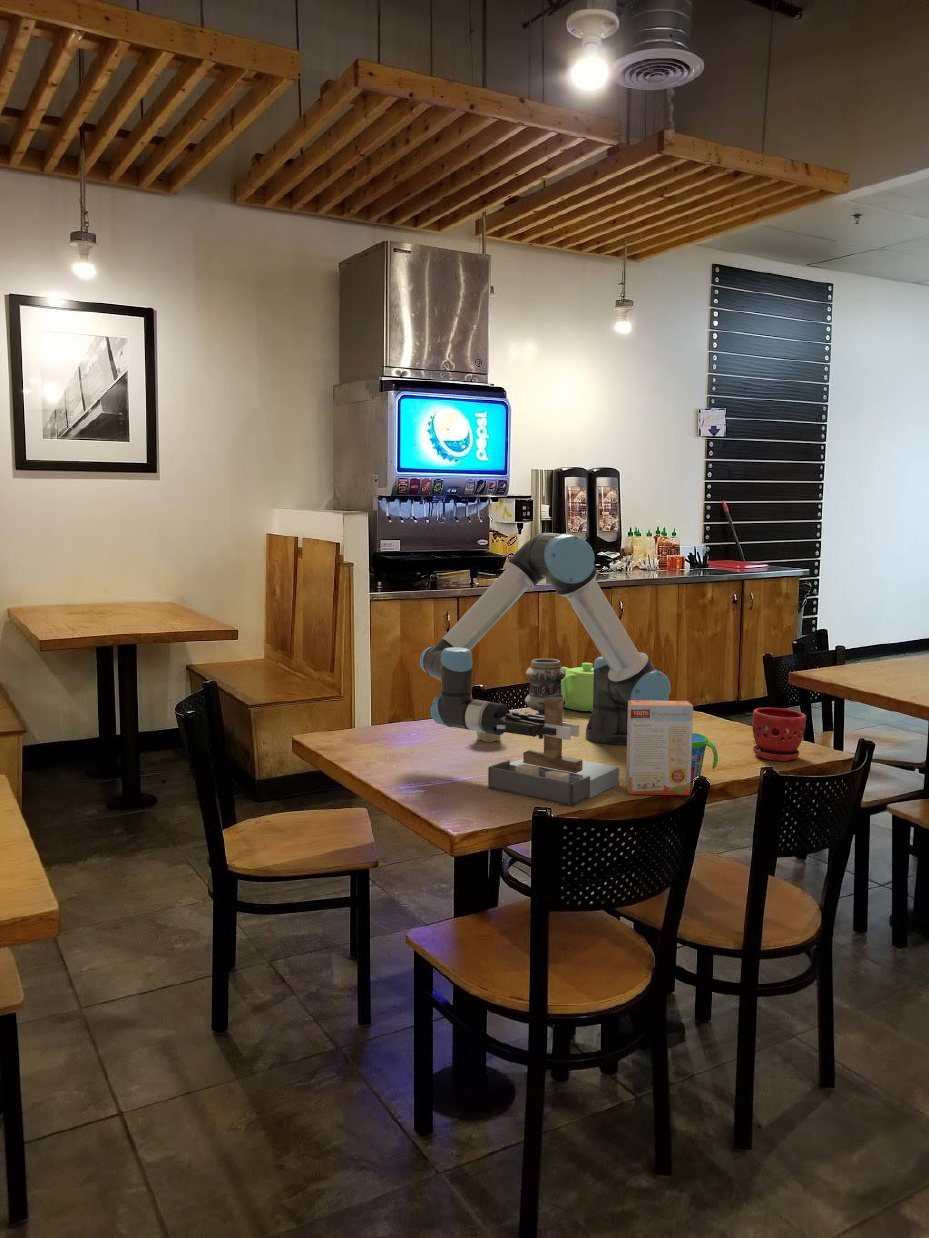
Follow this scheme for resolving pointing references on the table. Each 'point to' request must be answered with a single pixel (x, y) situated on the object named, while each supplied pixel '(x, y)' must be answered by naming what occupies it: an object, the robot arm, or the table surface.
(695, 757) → the snack cup
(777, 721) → the plant pot
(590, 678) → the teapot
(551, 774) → the tile
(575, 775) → the board
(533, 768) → the tile
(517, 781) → the box
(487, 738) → the flower pot
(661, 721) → the cracker box
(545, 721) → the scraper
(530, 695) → the apothecary jar
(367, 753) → the table surface
